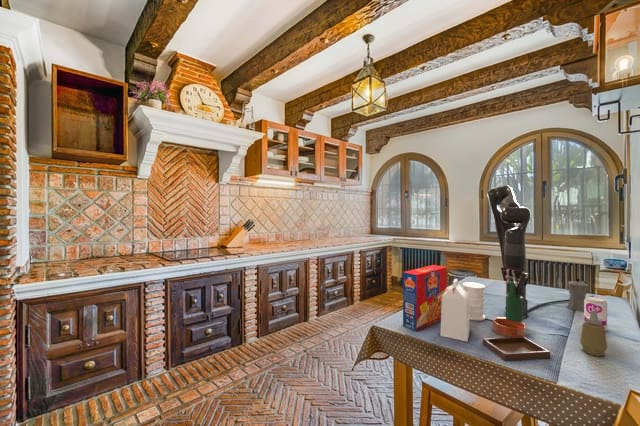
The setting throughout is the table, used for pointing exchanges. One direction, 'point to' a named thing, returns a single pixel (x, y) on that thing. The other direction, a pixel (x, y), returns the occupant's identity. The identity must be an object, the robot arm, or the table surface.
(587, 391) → the table surface
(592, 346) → the squeeze bottle
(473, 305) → the decorative container
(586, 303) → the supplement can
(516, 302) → the bottle
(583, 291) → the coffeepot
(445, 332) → the milk
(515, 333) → the bowl
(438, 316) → the pasta box
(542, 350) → the tray
